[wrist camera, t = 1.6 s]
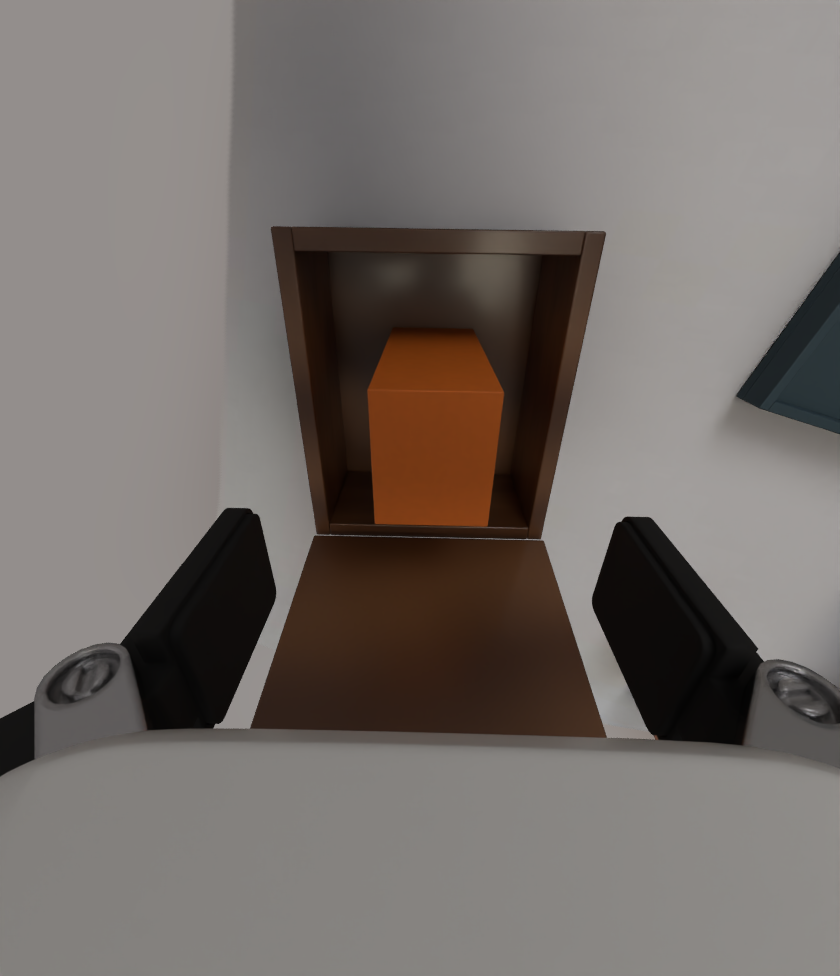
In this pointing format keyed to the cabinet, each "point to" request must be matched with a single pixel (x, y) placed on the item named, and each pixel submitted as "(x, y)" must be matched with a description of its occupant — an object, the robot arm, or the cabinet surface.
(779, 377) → the tray
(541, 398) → the chest
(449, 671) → the lid
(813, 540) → the cabinet surface
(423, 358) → the block
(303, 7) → the cabinet surface
